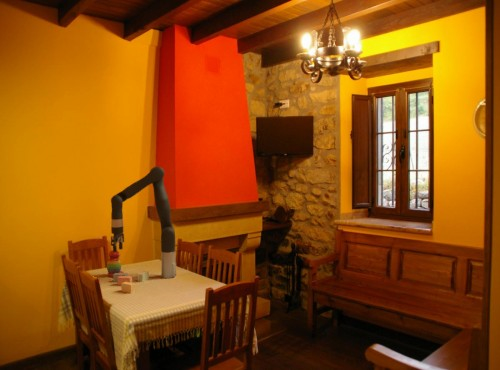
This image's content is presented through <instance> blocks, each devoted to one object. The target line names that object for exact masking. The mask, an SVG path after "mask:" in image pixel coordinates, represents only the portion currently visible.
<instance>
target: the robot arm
mask: <svg viewBox="0 0 500 370" xmlns="http://www.w3.org/2000/svg"><path fill="white" fill-rule="evenodd" d="M164 177H165V170H164V168H162V167H160V166H153V167H152V168H151V169H150V170H149V172H148V173H147V174H146V175H145V176H143V177H142V178H140V179H139V180H136V181H135V182H132V184H129V185H128V186H126V187H125V188H124V189H122V190H121V191H119V192H117V193H116V194H114V195H113V196H112V197H111V198H110V203H111V214H110V215H111V221H110V224H111V226H110V228H111V229H110V230H111V231H110V233H111V234H113V236H111V237H110V246H111V247H112V250H113V252H117V251H118V250H123V243H125V234H124V219H123V218H124V217H123V214H124V213H123V204H124V202H126V201H127V200H129V199H131V198H133V197H134V196H136V195H137V194H138V193H140V192H141V191H142V190H144V189H145V188H147V187H148V186H151V184H152V187H153V196H154V202H155V203H154V204H155V209H156V214H157V216H158V220H159V223H160V230H161V231H160V248H161V249H160V250H161V251H160V252H161V253H160V255H161V257H160V259H161V278H162V279H170V278H172V279H173V278H175V277H176V276H177V261H176V233H175V230H174V229H175V228H174V226H173V223H172V220H171V219H172V218H171V206H170V204H171V203H170V199H169V197H168V196H169V195H168V194H167V191H166V187H165V183H164ZM117 245H118V246H117ZM117 247H118V248H117Z"/></svg>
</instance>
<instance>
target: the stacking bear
mask: <svg viewBox="0 0 500 370" xmlns="http://www.w3.org/2000/svg"><path fill="white" fill-rule="evenodd" d="M120 256H121V253H120V252H119V251H118V250H117V252H113V249H112V250H110V251H109V253H108V257H109V258H108V260H107V264H106V270H107V277H108V278H113V274H115V273H125V272H124V271H122V270H121V269H122V262H121V259H120Z"/></svg>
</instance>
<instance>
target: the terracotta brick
mask: <svg viewBox="0 0 500 370" xmlns="http://www.w3.org/2000/svg"><path fill="white" fill-rule="evenodd" d="M124 282H130V283H133V276H130V275H127V276H119V277H118V282H117V286H121V283H124Z"/></svg>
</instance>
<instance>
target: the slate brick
mask: <svg viewBox="0 0 500 370" xmlns="http://www.w3.org/2000/svg"><path fill="white" fill-rule="evenodd" d="M119 276H128V273H127V272H126V273H125V272H124V273H115V274H113V277H112V278H113V280H112V281H113V283H118V277H119Z"/></svg>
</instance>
